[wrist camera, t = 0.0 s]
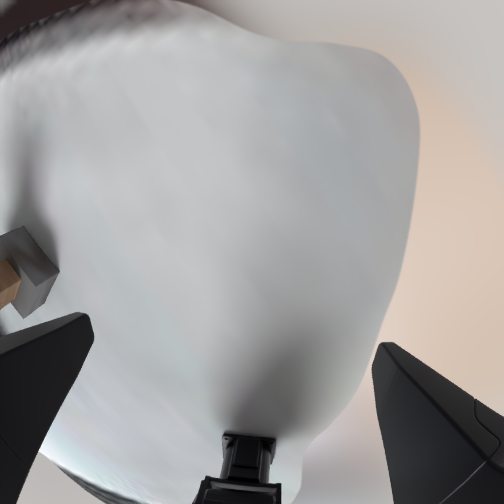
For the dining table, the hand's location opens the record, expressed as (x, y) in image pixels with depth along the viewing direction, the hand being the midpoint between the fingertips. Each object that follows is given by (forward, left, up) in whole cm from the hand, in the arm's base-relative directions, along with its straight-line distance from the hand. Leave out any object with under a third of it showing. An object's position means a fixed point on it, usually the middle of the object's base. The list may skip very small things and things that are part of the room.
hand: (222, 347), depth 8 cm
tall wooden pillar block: (-5, +25, -15) cm, 30 cm away
